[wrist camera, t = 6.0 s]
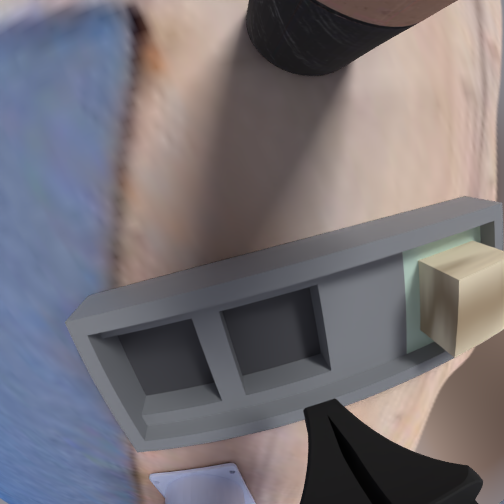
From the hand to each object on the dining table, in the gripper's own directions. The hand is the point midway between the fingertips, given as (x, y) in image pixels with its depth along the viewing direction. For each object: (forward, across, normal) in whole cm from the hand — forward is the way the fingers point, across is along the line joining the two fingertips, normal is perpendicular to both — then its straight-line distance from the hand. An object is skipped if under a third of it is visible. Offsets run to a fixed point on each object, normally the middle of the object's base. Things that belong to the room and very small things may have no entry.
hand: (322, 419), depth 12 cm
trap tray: (+9, -2, 0) cm, 9 cm away
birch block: (+7, -11, 0) cm, 13 cm away
